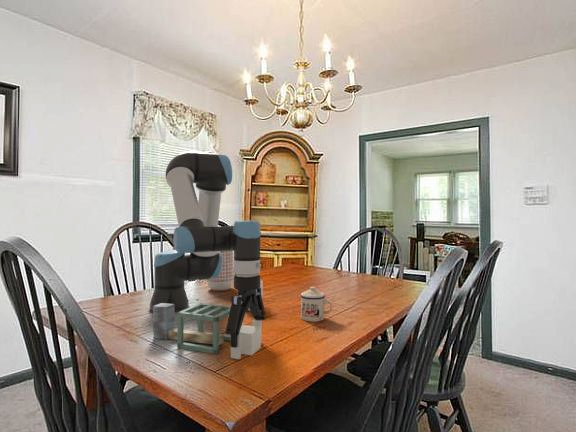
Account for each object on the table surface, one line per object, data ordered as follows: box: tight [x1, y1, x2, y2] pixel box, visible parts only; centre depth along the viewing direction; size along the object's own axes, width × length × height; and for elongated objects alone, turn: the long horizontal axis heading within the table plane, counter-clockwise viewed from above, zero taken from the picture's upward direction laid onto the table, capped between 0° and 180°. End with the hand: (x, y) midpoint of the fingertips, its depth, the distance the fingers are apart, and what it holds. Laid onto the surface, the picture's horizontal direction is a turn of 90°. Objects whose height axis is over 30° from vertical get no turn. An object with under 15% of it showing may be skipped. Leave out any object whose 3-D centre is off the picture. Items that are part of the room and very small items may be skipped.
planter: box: [206, 251, 235, 292], centre depth 180 cm, size 13×13×28 cm
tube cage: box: [176, 302, 231, 355], centre depth 106 cm, size 13×11×10 cm
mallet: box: [152, 303, 224, 346], centre depth 109 cm, size 23×4×10 cm, turn 70°
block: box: [239, 324, 262, 356], centre depth 102 cm, size 6×6×6 cm
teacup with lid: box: [300, 286, 334, 323], centre depth 132 cm, size 12×9×12 cm
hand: (247, 349), depth 102 cm, fingers open, 12 cm apart
